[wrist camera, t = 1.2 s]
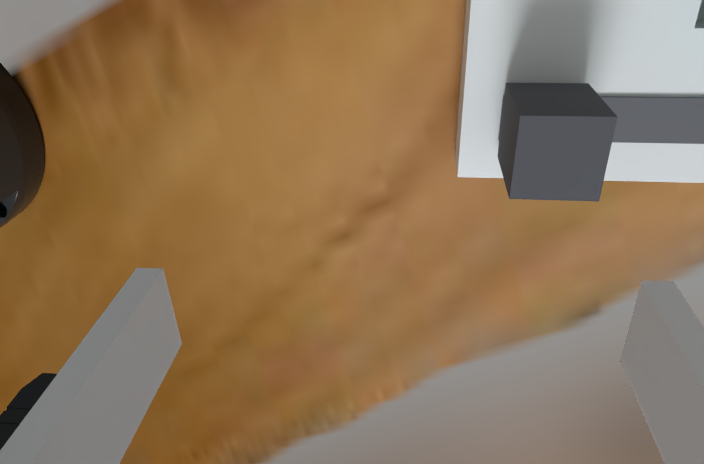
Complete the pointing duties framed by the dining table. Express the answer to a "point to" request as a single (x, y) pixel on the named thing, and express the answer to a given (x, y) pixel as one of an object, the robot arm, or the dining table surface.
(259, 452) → the dining table surface
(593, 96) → the slider knob
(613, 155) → the panel
